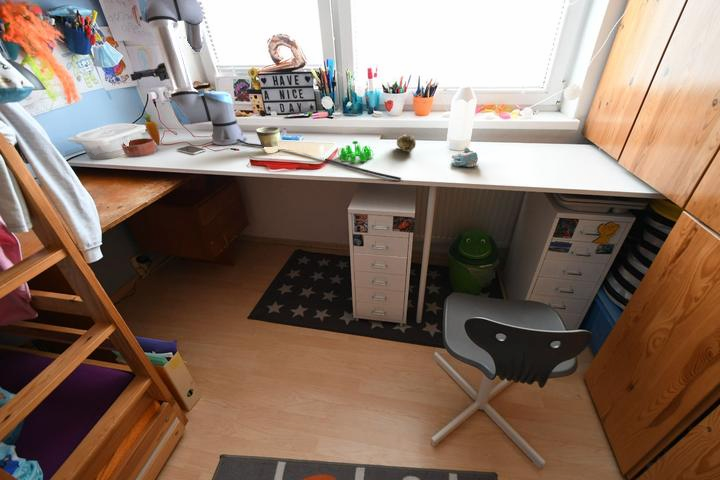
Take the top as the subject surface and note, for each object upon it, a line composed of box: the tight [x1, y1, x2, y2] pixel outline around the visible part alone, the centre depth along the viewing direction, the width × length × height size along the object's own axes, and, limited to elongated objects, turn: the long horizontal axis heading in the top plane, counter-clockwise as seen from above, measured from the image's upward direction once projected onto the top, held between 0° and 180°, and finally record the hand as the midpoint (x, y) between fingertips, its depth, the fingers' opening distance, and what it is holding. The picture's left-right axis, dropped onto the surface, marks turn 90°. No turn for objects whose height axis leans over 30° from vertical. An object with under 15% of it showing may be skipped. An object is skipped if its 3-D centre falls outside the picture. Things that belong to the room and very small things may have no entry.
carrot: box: [141, 112, 161, 146], centre depth 159 cm, size 5×5×15 cm
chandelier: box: [337, 140, 374, 164], centre depth 134 cm, size 15×15×7 cm
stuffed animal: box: [450, 146, 479, 168], centre depth 124 cm, size 11×7×12 cm
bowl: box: [120, 137, 158, 158], centre depth 151 cm, size 13×13×5 cm
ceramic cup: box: [255, 126, 281, 149], centre depth 146 cm, size 13×10×10 cm
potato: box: [396, 134, 417, 152], centre depth 139 cm, size 8×13×8 cm, turn 172°
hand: (146, 77), depth 154 cm, fingers open, 13 cm apart
